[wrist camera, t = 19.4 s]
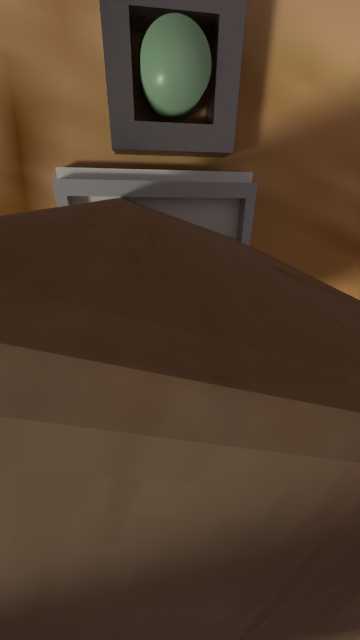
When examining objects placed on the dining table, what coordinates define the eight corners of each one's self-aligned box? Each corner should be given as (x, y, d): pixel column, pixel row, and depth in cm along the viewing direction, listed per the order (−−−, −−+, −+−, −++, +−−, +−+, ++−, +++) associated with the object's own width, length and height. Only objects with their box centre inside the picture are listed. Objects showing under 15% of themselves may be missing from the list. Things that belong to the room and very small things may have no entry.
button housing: (102, -8, 15) (95, -42, 13) (234, 6, 16) (249, -24, 14) (115, 153, 19) (112, 148, 16) (223, 157, 19) (233, 152, 17)
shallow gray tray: (60, 168, 18) (49, 165, 16) (247, 173, 20) (259, 170, 18) (91, 355, 26) (86, 369, 23) (228, 347, 27) (235, 360, 25)
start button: (138, 34, 15) (138, 9, 13) (204, 40, 16) (213, 16, 14) (142, 117, 17) (142, 107, 15) (201, 120, 18) (209, 110, 15)
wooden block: (236, 239, 21) (741, 483, 3) (194, 340, 25) (323, 710, 7) (114, 195, 19) (-542, 225, 1) (88, 315, 22) (-124, 789, 5)
